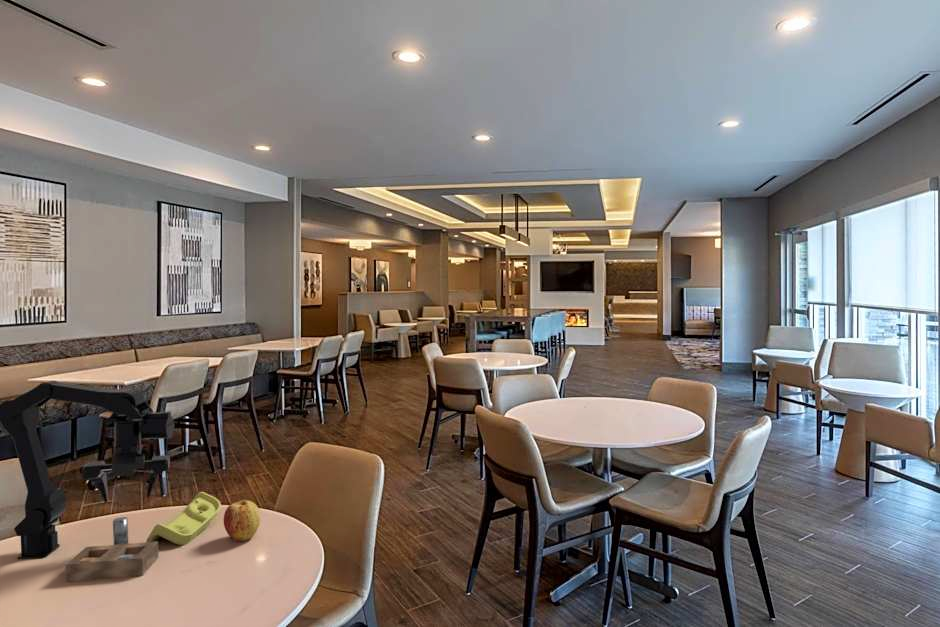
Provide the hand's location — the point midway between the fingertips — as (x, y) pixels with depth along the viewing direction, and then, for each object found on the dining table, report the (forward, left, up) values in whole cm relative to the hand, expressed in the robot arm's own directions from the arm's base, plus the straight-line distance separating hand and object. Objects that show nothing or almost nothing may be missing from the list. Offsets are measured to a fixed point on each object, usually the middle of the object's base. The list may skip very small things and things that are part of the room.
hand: (127, 499), depth 143 cm
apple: (+28, -1, -12) cm, 31 cm away
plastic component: (+12, +7, -12) cm, 19 cm away
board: (+2, -13, -12) cm, 18 cm away
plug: (-2, 0, -12) cm, 12 cm away
